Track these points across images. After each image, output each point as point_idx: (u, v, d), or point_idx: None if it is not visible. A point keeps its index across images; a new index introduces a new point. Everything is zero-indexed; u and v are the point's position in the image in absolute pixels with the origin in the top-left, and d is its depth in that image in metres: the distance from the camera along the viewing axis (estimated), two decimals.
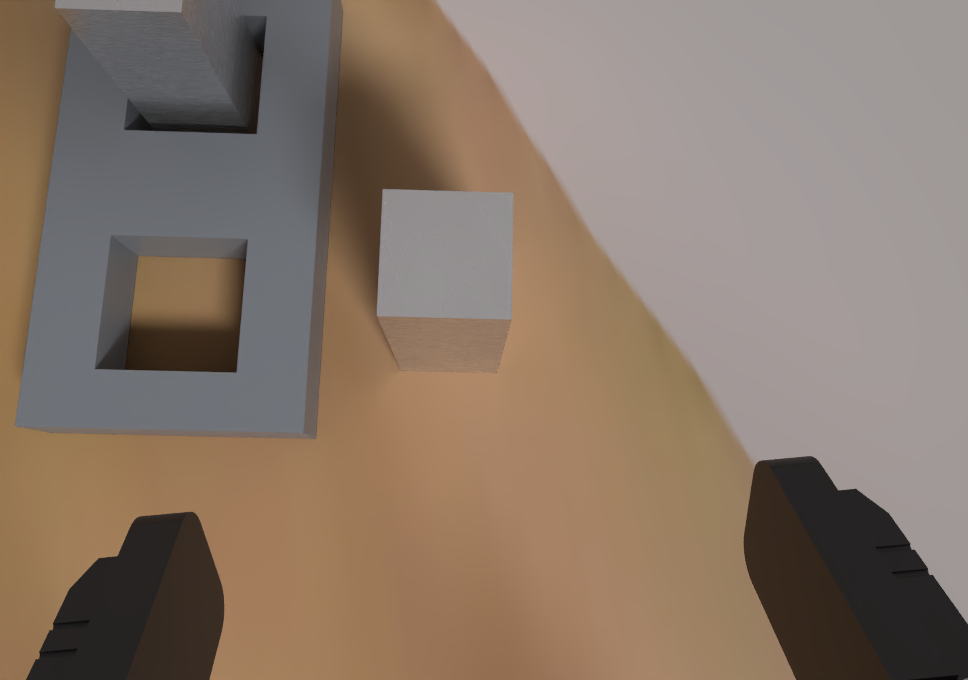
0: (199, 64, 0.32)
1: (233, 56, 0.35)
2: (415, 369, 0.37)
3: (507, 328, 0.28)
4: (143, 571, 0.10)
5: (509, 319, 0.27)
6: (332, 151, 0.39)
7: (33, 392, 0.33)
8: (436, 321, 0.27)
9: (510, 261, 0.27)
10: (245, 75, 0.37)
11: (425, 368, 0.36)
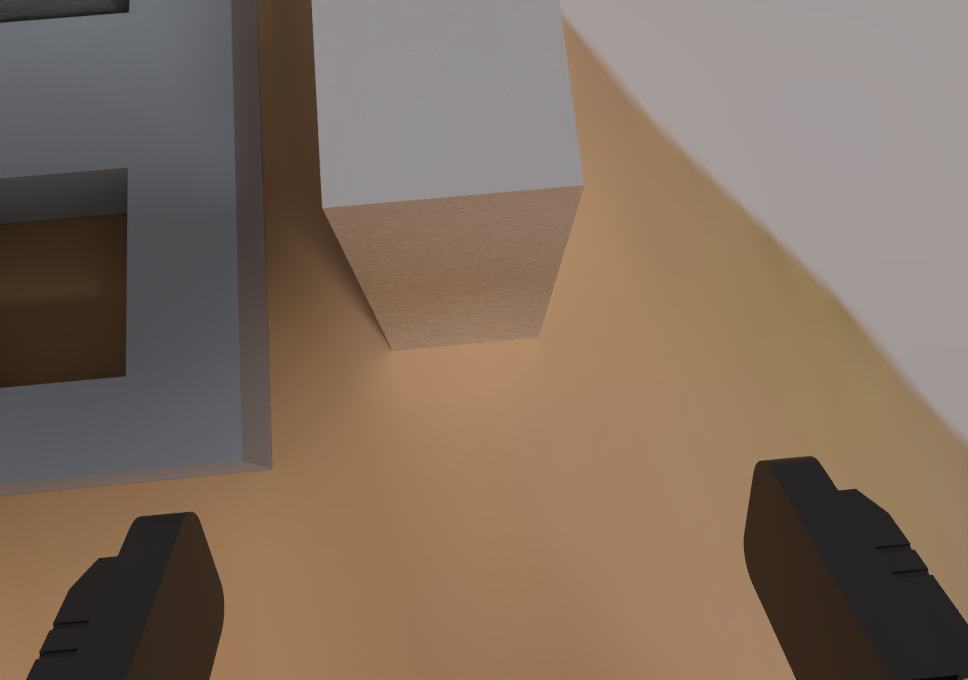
0: None
1: None
2: (413, 344, 0.24)
3: (572, 215, 0.15)
4: (143, 571, 0.10)
5: (580, 185, 0.14)
6: (254, 42, 0.26)
7: None
8: (439, 211, 0.14)
9: (566, 80, 0.14)
10: None
11: (429, 340, 0.23)
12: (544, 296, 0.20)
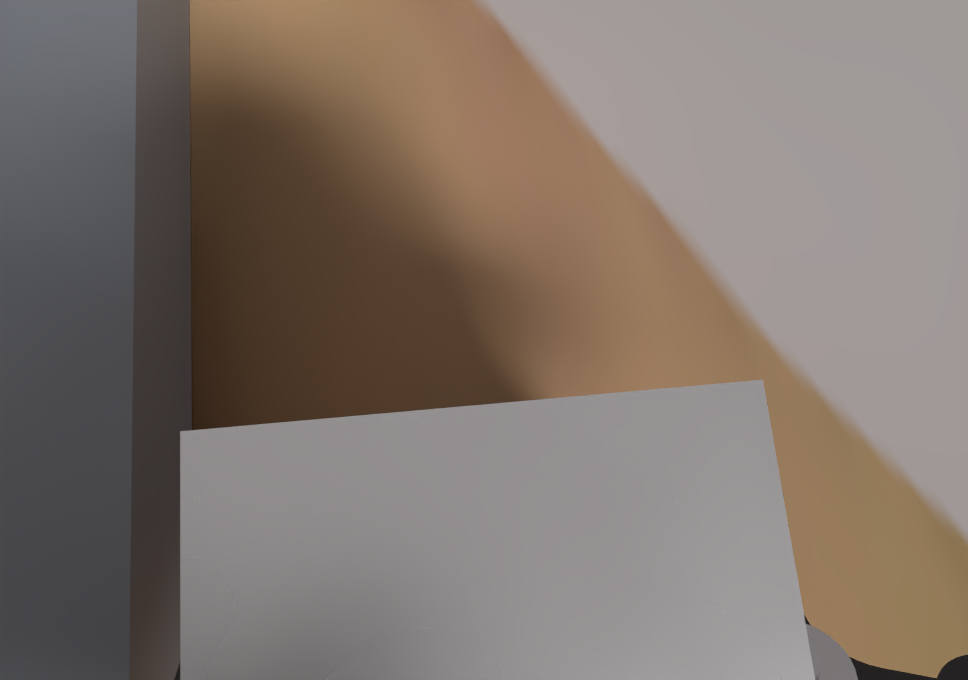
0: None
1: None
2: None
3: None
4: None
5: None
6: (183, 226, 0.18)
7: None
8: None
9: None
10: None
11: None
12: None
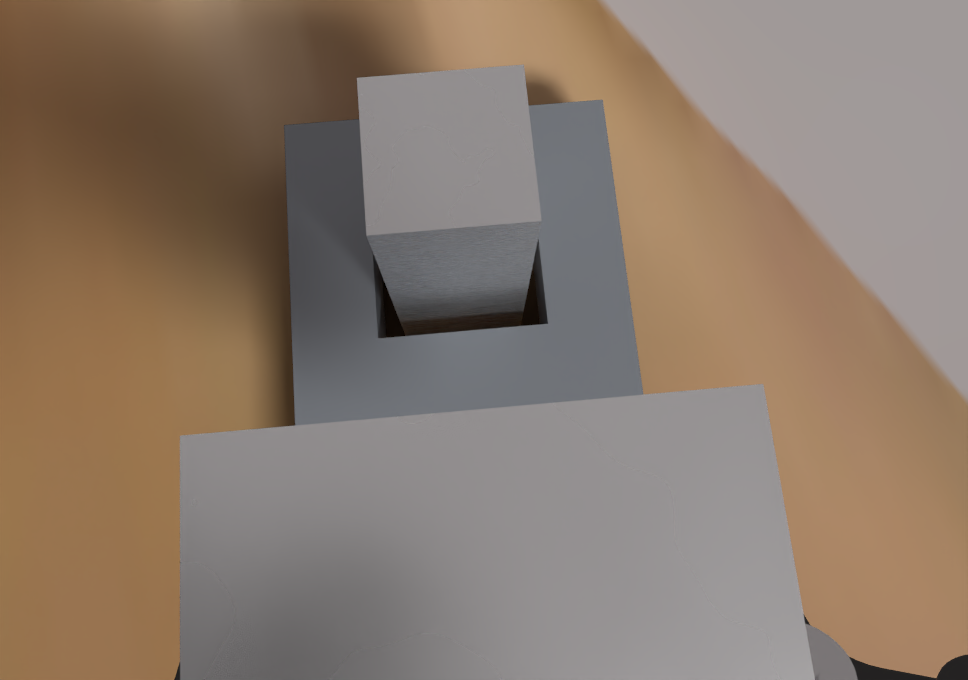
0: (518, 265, 0.24)
1: None
2: None
3: None
4: None
5: None
6: None
7: None
8: None
9: None
10: None
11: None
12: None
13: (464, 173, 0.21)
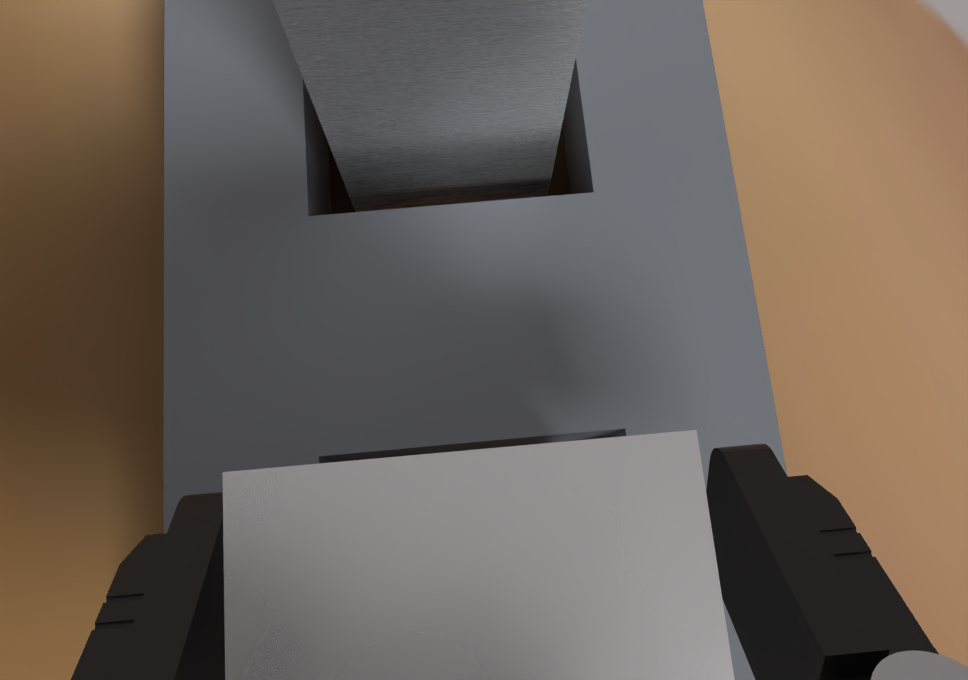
0: (552, 35, 0.12)
1: None
2: None
3: None
4: (193, 546, 0.10)
5: None
6: None
7: None
8: None
9: None
10: None
11: None
12: None
13: None
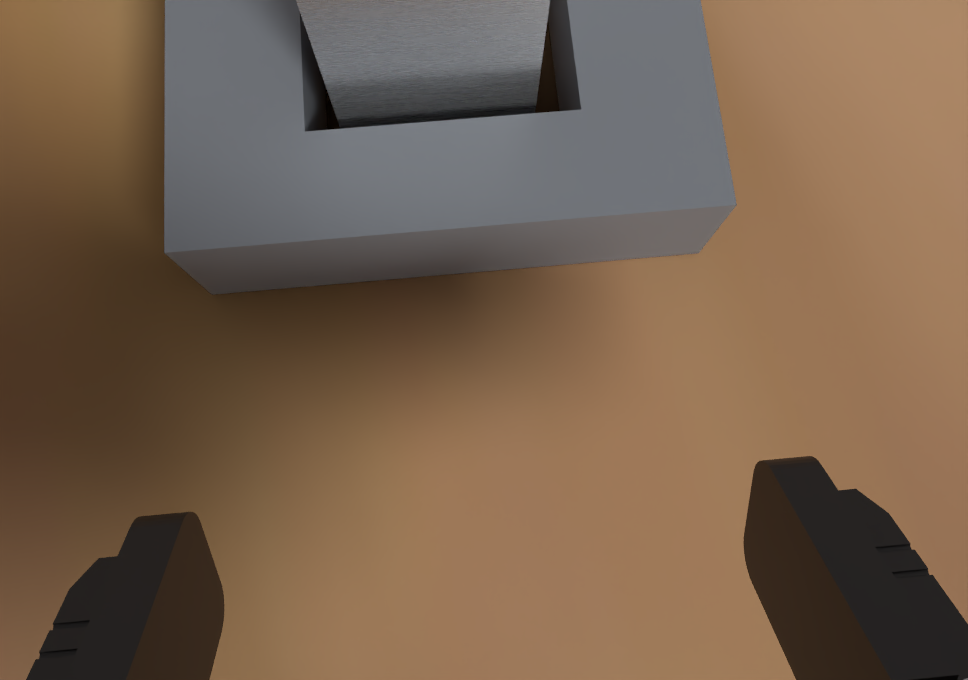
0: None
1: None
2: None
3: None
4: (143, 571, 0.10)
5: None
6: None
7: (191, 186, 0.17)
8: None
9: None
10: None
11: None
12: (534, 53, 0.16)
13: None
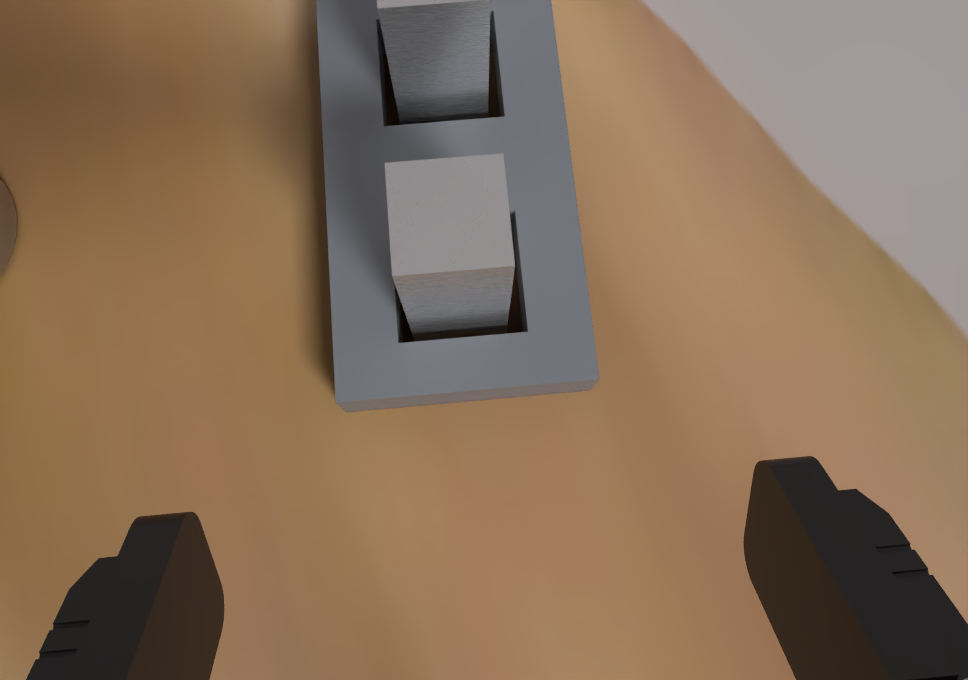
0: (479, 51, 0.35)
1: None
2: None
3: (512, 277, 0.30)
4: (143, 571, 0.10)
5: (513, 266, 0.29)
6: None
7: (346, 370, 0.36)
8: (446, 276, 0.29)
9: (508, 214, 0.29)
10: None
11: (438, 338, 0.39)
12: (505, 314, 0.35)
13: None
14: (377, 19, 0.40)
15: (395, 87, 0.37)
